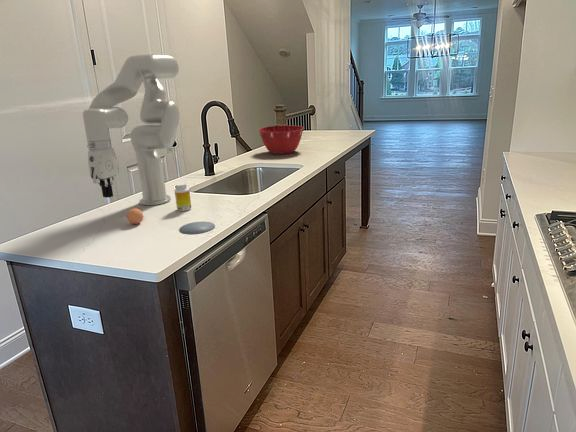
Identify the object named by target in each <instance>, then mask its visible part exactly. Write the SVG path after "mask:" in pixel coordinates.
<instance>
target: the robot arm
mask: <svg viewBox="0 0 576 432" xmlns="http://www.w3.org/2000/svg"><path fill="white" fill-rule="evenodd" d="M178 73H179V64H178V61H177V60H176V59H175V58H174V56H171V55H165V54H164V55H163V54H138V55H137V54H136V55H132V56H128V57H127V58H126V60H125V61H124V63H123V65H122V67H121V68H120V71H119V73H118V74H117V77H116V78H115V80H114V82H113V83H110V85H108V86H107V87H106V88H105V89H103V90H101V91H100V92H99V93H98V94H97V95H96V96H95V97H94V98H93V100H92V101H91V104H90V105H89V107H88V108H87V109H84V110H83V111H82V119H83V123H84V124H83V125H84V130H85V137H86V142H87V145H86V146H87V148H88V152H87V159H88V170H89V175H90V178H91V179H92V183H93V184H98V185H99V187H101V193H102V197H103V198H112V197H114V192H113V183H114V180H115V179H116V178H117V177H118V175H119V174H120V168H119V162H118V159H117V158H118V157H117V154H116V152H115V149H114V148H113V147H112V140H111V133H110V130H111V129H116V130H117V129H121V128H124V127H125V126H126V125H127V123H128V121H129V115H128V113H127V111H126V110H125V109H123V108H122V107H119V106H116V105H119V104H121V103H124V102H126V101H128V100H131V99H133V98H134V97H135V96H136V95H138V91H139V90H140V87H141V85H142V84H143V85H144V94H143V99H142V103H141V108H140V113H139V118H140V121H141V123H143V124H144V125H137V126H135V127H133V128H132V130H131V132H130V134H129V135H130V136H129V137H130V142H131V145H132V147H133V150H134V154H135V157H136V162H137V169H138V170H137V171H138V175H139V181H140V187H141V193H142V194H141V195H142V198H140V199H139V204H140V205H143V206H156V205H162V204H165V203H168V202H169V201H171V199H172V198H171V196H170V195H167V191H166V184H165V177H164V171H163V169H164V168H163V162H162V158H161V155H160V153H159V152H158V150H169V149H171V148H172V147H173V145H174V143H175V141H176V136H177V131H178V127H179V122H180V121H179V120H180V110H179V106H178V105H177V104H176V102H174V101H172V100H166V99H167V98H166V97H167V92H166V89H165V87H164V86H163V85H162V83H161V82H160V79H161V80H165V79H174V78H175V77H176V76H177V75H178Z"/></svg>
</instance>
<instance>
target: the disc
mask: <svg viewBox="0 0 576 432" xmlns="http://www.w3.org/2000/svg"><path fill="white" fill-rule="evenodd" d="M215 227H216V225H215V223H213V222H212V221H195V222H189V223H186V224H183V225H182V226H180V228H179V229H178V230H179V232H180V233H181V234H185V235H196V234H197V235H198V234H204V233H208V232H209V231H212V230H214V229H215Z"/></svg>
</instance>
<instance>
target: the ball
mask: <svg viewBox="0 0 576 432" xmlns="http://www.w3.org/2000/svg"><path fill="white" fill-rule="evenodd" d="M143 218H144V214H143V212H142V211H141V209H139V208H130V209H129V210H128V211H127V212H126V220H127V221H128V222H129V223H130V224H132V225H137V224H140V223H141V222H142V221H143V220H144V219H143Z"/></svg>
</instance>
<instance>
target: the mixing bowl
mask: <svg viewBox="0 0 576 432" xmlns="http://www.w3.org/2000/svg"><path fill="white" fill-rule="evenodd" d="M258 132H259V135H260V138H261V140H262V142H263V145H264V147H265V148H266V151H268V152H269V153H271V154H273V155H288V154H292V153H294V151H296V150H297V148H298V147H299V145H300V142H301V140H302V136H303V132H304V126H301V125H292V124H291V125H271V126H265V127H261V128H260V127H259V129H258Z"/></svg>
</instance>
